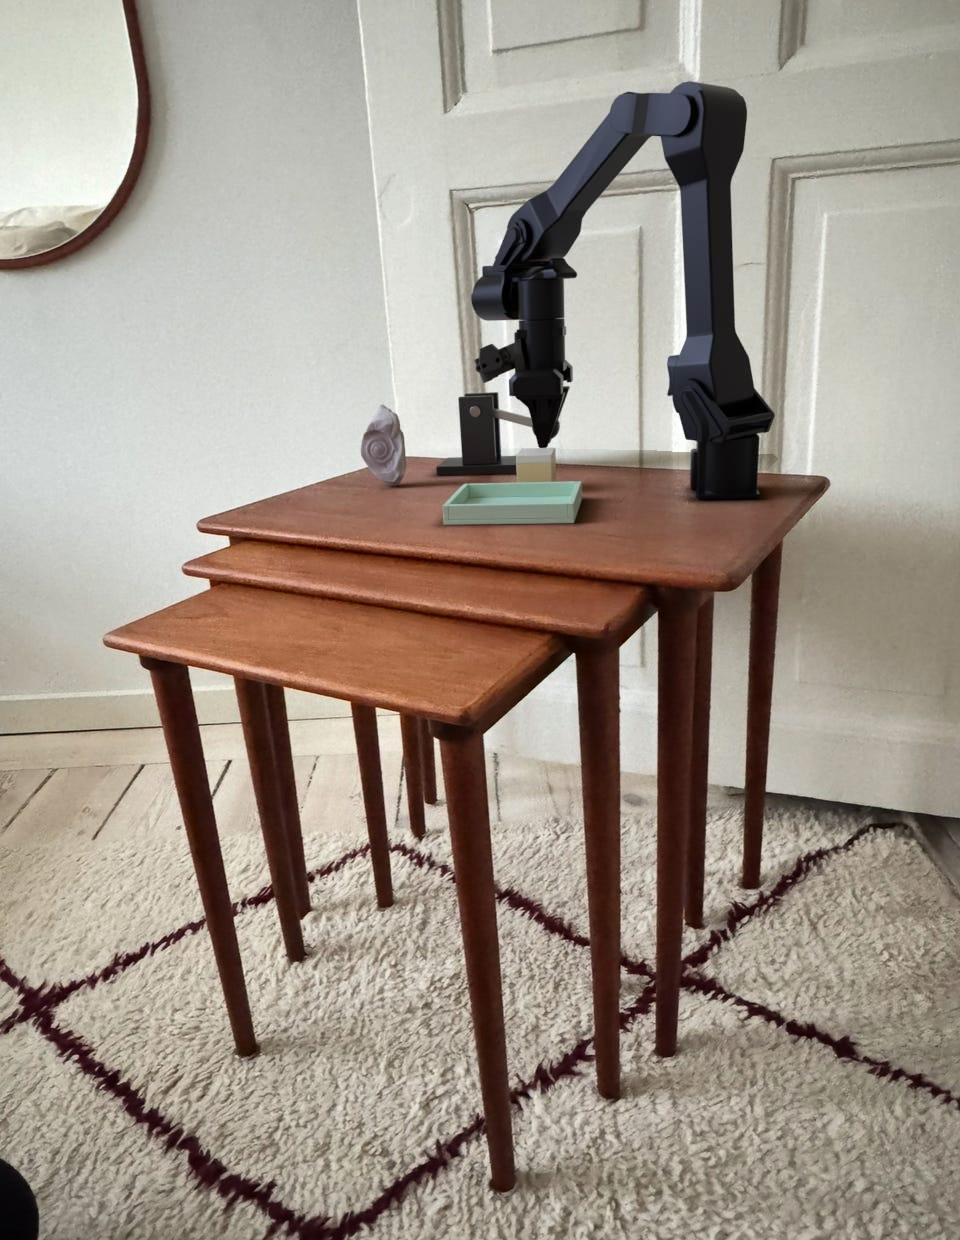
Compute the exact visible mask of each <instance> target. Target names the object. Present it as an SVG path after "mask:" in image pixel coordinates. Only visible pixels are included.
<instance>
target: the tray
mask: <svg viewBox="0 0 960 1240" xmlns="http://www.w3.org/2000/svg"><path fill="white" fill-rule="evenodd" d="M582 500H583V482H582V480H579V481H577V480H576V481H575V480H574V481H556V482H521V483H517V482H481V483H479V482H478V483H475V482H473V483H463V484H462V485H461V486H460V487H459V488H458V489H457V490H456V491H455V492H454V493H453V494H452V495H451V497H449V498H448V499H447V500H446V501H445V502H444V503H443V505H442V515H443V517H442V519H443V525H446V526H449V525H451V526H454V525H455V526H456V525H457V526H458V525H459V526H460V525H464V526H465V525H531V524H532V525H535V524H536V525H538V524H539V525H540V524H541V525H542V524H547V525H549V524H574V523H575V521H576V518H577V515H578V512H579V509H580V506H581V503H582Z"/></svg>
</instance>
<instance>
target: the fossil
mask: <svg viewBox="0 0 960 1240" xmlns="http://www.w3.org/2000/svg"><path fill="white" fill-rule="evenodd" d="M405 442H406V441H405V434H404V432H403V431H402V429H401V422H400V418H399V416H398V414H397V413H395V412H393V411H392V409H391V408H388V407H387V406H386V405H384V404H380V405H379V406H378V408H377V410H376V413H374V415H373V416H372V417H371V419H370V421H368V424H367V426H366V427H365V431H364V433H363V436H362V439H361V444H360V456H361V458H362V460H363V461H364V463H365V465H366V466H367V467H368V469H369V470H370V472H371V473H372V474H373V475H374V476H375V477H376V478H377V479H378V480H379V481H381V482H383V483H384V484H386V485H387V486H390V487H397V486H399V485H400V484H401V481H402V480H403V478H404V477H405V472H406V469H407V458H406V457H407V456H406V445H405Z"/></svg>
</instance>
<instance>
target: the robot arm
mask: <svg viewBox="0 0 960 1240" xmlns="http://www.w3.org/2000/svg"><path fill="white" fill-rule="evenodd" d="M747 120H748V107H747V102H746V100H745V98H744V96H743V95H741V94H740V93H739V92H738V91H737V90H736V89H734V88H731V87H727V86H722V85H716V84H709V83H704V82H698V81H697V82H696V81H691V80H690V81H683V82H681V83H678V85H676V86H675V87H673V89H672V90H671V91H670V92H643V93H642V92H635V91H626V92H623V93H621V94H619V95H618V96H616V97H615V98H614V100H613V101H612V104H611V106H610V109H609V113H608V114H607V115H606V116H605V117H604V118H603V120H602V121H601V122H600V124H599V125H598V126H597V127H596V129H595V130H594V132H593V133H592V134H591V135H590V136H589V138H588V139H587V140H586V142H585V143H584V144H583V145H582V147H581V148H580V150H579V151H578V152H577V154H576V155H575V156H573V159H572V160H571V161H570V162H569V164H568V165H567V166H566V167H565V169H564V170H563V171H562V173H561V174H560V175H559V176H558V178H557V179H556V180H555V181H554V183H553V184H552V185H551V186H550V187H548V188H547V189H546V190H544V191H542V192H540V193H538V194H536V195H535V196H533V197H531V198H529V199H528V200H527V201H525V202H524V203H523V204H522V205H521V206H520V207H519V208H518V209H517V210H515V212H514V213H513V214H512V215H511V216H510V218H509V219H508V222H507V226H506V231H505V234H504V236H503V238H502V241H501V244H500V246H499V249H498V251H497V253H496V255H495V257H494V262H493V264H492V265H483V266H482V267H481V271H482V272H481V273H482V274H481V275H482V276H481V277H479V278H478V279H477V280H476V282H475V284H474V286H473V287H472V293H471V295H470V301H471V306H472V309H473V312H474V313H475V314H476V315H477V317H478V318H480V319H481V320H482V321H487V322H490V321H518V329H516V331H514V333H513V335H514V337H513V339H514V341H513V343H510V344H508V345H504V346H503V347H501V348H498V347H497V346H496V345H494V344H493V343H490V344H487V345H485V346H483V347H480V348H479V354H478V357H477V358H475V359H474V360H473V361H474V363H475V371H476V372H477V373H479V376H480V378H481V381H482V384H486V383H488V382H490V381H492V380H493V379H496V378H498V377H499V376H500V375H503V374H505V373H508V372H510V371H512V370H514V374H512V375H511V377H510V378H509V379H508V393H509V394H508V396H509V397H515V399H517V401H519V402H521V403H522V404H523V405H524V406H525V407H527V409H528V412H529V414H530V418H531V420H532V423H533V427H534V431H535V435H536V436H535V435H534V436H535V439H536V442H537V448H548V447H549V444H550V443H551V442H552V439H551V440H550V438H551V435H552V432H553V428H554V425H555V422H556V419H557V418H558V420H559V419H560V416H561V413H562V411H563V407H564V405H565V402H566V399H567V397H568V394H569V391H570V388H571V387H570V386H569V385H564V382H566V383H572V382H573V381H574V372H573V371H574V369H573V368H574V367H573V365H572V364H570V363H569V361H568V360H567V359H566V335H567V326H565V325H566V324H565V322H566V321H565V319H566V318H565V280H567V279H568V280H570V279H576V278H577V277H578V272H577V271H576V270H575V268H573V267H572V266H571V265H569V263H568V262H567V261H566V259H565V257H566V256H567V255H568V253H569V252H570V251H571V249H572V247H573V245H574V244H575V242H576V241H577V239H578V237H579V236H580V234H581V232H582V225H583V219H584V217H585V215H586V213H587V212H588V211H589V209H591V207H592V206H593V205H594V203H595V202H596V201H597V200H598V199H599V197H600V196H601V195H602V194H603V193H604V192H605V190H606V189H607V188H608V187H609V186H610V185H611V184H612V182H613V181H614V180H615V179H616V177H618V175H619V174H620V173H621V172H622V171H623V169H624V168H625V167H626V166H627V165H628V163H629V162H630V161H631V160H632V159H633V158H634V156H635V155H636V154H637V153H638V152H639V151H640V150H641V148H642V147H643V146H644V145H645V144H646V142H647V141H648V140H649V139H650V138H651V137H660V140H661V146H662V151H663V157H664V161H665V162H666V164H667V166H668V168H669V171H670V172H671V174H672V175H673V178H674V179H675V182H676V183H677V185H678V189H679V193H680V213H681V215H680V216H681V231H682V232H681V235H682V236H681V237H682V258H683V259H682V261H683V279H684V281H683V282H684V300H685V301H684V302H685V305H684V306H685V324H686V325H685V326H686V337H685V340H684V342H683V345H682V347H681V350H680V352H679V354H674V355H669V356H668V357H667V362H666V367H667V373H668V379H669V381H668V382H669V383H668V388H667V393H666V394H667V395H666V396H667V397H671V398H672V405H673V408H674V411H675V413H677V414H678V416H679V420H680V424H681V427H682V431H683V435H684V437H685V438H684V439H685V440H686V441H694V442H696V446H695V447H696V448H691V450H690V467H689V487H690V488H689V489H690V491H692V492H694V496H695V499H697V500H713V499H714V500H717V499H719V500H720V499H721V500H722V499H723V500H725V499H759V498H760V495H761V494H760V491H759V490H758V479H759V475H758V474H759V457H760V435H758V434H765V433H769V432H770V430H771V428H772V425H773V422H774V420H775V417H776V414H775V411H773V409H772V408H771V407H770V406H769V404H768V403H767V402H766V400H765V399H764V398H763V397H762V396H761V394H760V393H759V392H758V390H757V389H756V388H755V383H754V378H753V371H752V367H751V366H752V365H751V360H750V356H749V354H748V353H747V351H746V349H745V347H744V345H743V343H742V341H741V339H740V338H739V336H738V334H737V330H736V317H735V284H734V282H735V281H734V279H735V278H734V251H733V217H732V216H733V215H732V179H733V177H734V174H735V172H736V170H737V167H738V164H739V162H740V160H741V158H742V155H743V153H744V148H745V139H746V130H747Z"/></svg>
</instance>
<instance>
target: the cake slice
mask: <svg viewBox="0 0 960 1240" xmlns="http://www.w3.org/2000/svg"><path fill="white" fill-rule="evenodd" d="M556 451H557V449H556V447H547V448H539V447H532V448H529V447H528V448H526V447H525V448H521V449H520V450H519V451H518V452H517V454H516V455H515V456H516V463H517V464H516V468H517V474H516V483H521V482H557V457H556V454H557V453H556Z"/></svg>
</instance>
